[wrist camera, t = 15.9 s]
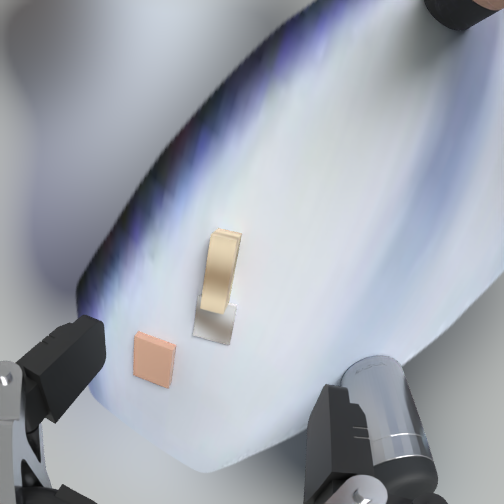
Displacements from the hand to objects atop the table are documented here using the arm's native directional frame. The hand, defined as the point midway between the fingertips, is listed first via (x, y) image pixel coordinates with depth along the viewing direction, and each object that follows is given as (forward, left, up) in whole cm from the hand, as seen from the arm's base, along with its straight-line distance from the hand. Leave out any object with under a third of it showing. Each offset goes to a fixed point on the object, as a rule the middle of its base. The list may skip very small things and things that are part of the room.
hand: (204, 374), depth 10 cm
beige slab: (-6, +9, -26) cm, 28 cm away
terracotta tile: (-11, +21, -26) cm, 35 cm away
